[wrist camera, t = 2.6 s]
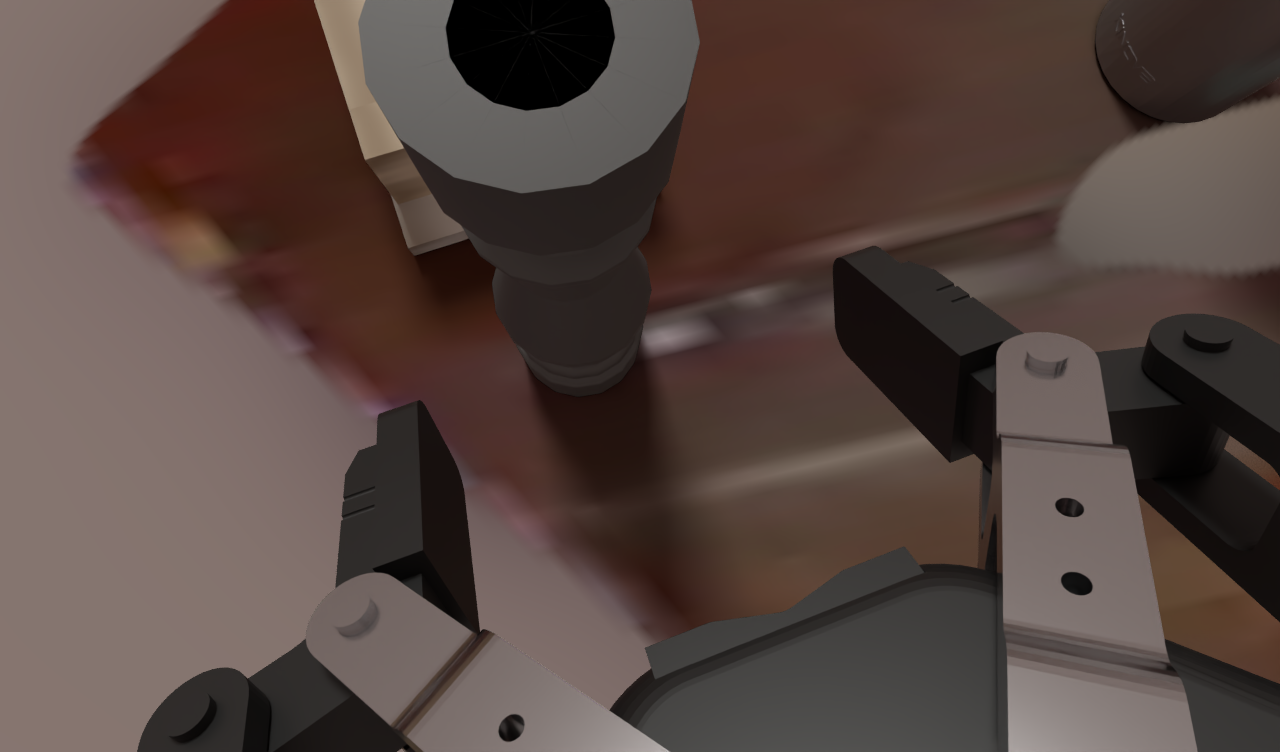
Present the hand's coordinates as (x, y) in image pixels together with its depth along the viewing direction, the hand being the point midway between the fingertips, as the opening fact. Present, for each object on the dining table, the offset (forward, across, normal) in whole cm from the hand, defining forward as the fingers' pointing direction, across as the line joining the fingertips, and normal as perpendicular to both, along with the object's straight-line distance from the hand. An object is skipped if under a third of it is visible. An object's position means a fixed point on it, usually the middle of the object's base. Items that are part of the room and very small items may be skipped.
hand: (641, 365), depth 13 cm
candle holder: (+20, 0, +12) cm, 24 cm away
